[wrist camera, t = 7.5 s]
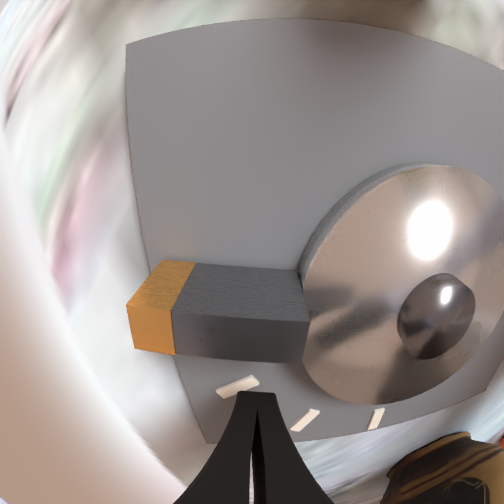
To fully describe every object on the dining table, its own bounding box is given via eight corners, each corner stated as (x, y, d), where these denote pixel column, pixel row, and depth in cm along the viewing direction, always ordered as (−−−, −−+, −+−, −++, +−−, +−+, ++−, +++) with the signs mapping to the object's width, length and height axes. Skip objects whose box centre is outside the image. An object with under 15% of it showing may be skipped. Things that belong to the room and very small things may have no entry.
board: (531, 94, 7) (544, 94, 5) (479, 382, 14) (485, 392, 12) (136, 52, 8) (124, 43, 7) (208, 430, 15) (206, 445, 13)
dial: (513, 191, 8) (561, 208, 5) (450, 370, 11) (474, 408, 8) (163, 131, 8) (115, 124, 5) (175, 375, 11) (157, 429, 8)
